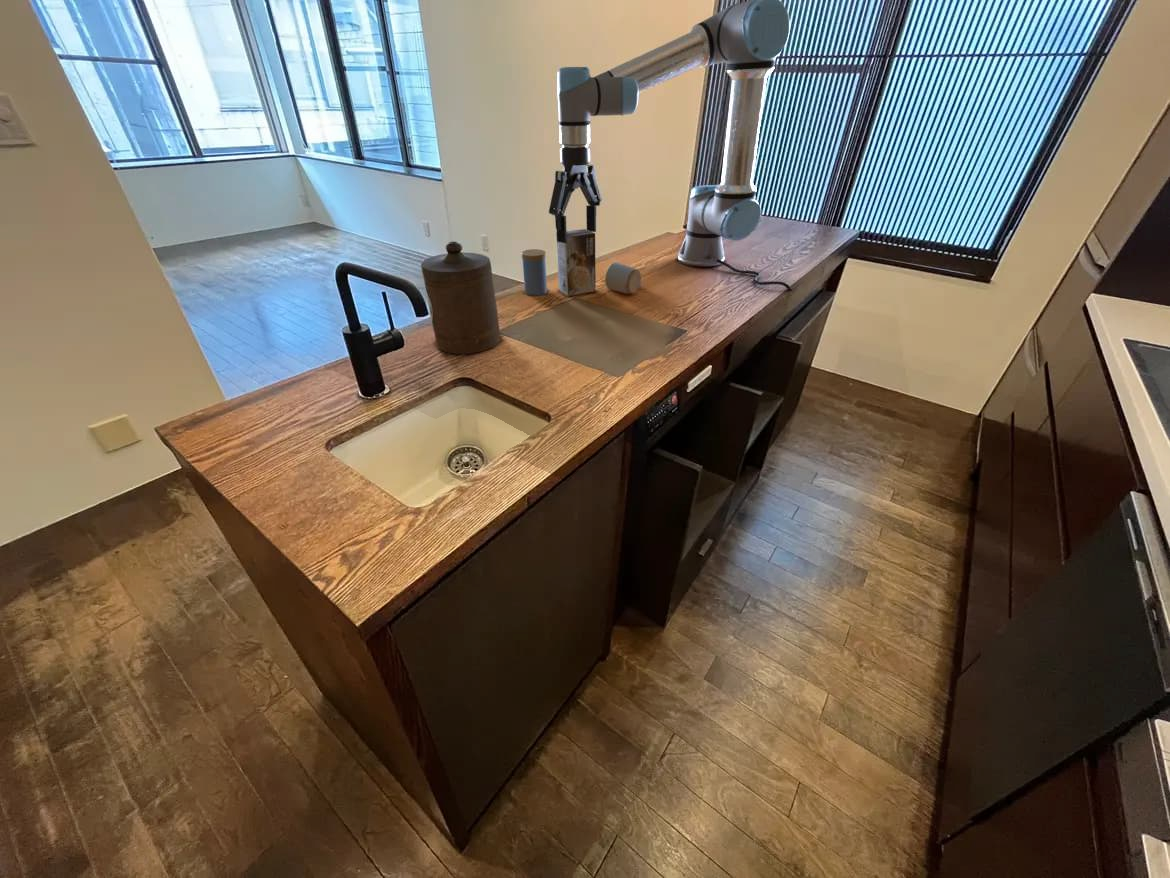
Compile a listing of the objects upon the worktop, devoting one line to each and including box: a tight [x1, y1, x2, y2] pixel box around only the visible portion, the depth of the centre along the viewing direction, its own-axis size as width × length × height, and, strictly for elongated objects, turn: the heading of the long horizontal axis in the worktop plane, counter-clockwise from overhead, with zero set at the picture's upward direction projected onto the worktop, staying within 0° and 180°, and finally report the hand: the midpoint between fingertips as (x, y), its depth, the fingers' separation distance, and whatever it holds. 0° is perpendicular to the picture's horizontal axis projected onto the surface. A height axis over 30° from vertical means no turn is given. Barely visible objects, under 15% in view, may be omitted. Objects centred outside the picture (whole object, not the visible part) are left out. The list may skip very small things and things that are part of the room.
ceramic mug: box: [604, 261, 643, 295], centre depth 138 cm, size 11×8×8 cm
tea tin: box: [520, 248, 548, 296], centre depth 137 cm, size 7×7×11 cm
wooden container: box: [420, 241, 501, 355], centre depth 106 cm, size 15×15×22 cm
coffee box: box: [556, 228, 597, 297], centre depth 135 cm, size 9×6×16 cm
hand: (577, 236), depth 131 cm, fingers open, 13 cm apart
